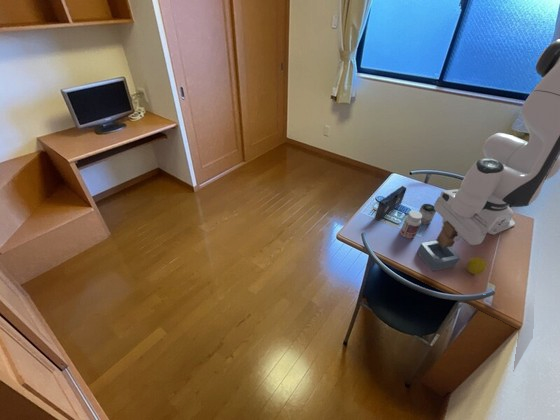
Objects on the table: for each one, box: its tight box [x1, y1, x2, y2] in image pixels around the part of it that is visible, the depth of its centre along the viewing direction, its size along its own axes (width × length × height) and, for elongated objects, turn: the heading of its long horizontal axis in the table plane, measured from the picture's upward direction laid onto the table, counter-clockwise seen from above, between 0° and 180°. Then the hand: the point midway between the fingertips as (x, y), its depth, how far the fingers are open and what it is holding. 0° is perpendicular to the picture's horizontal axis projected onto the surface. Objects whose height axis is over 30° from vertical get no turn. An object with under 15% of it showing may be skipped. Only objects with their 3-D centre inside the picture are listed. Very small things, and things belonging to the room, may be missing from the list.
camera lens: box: [419, 203, 437, 225], centre depth 127 cm, size 6×6×8 cm
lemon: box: [466, 256, 487, 275], centre depth 105 cm, size 6×6×8 cm
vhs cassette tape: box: [374, 185, 407, 221], centre depth 131 cm, size 18×3×10 cm, turn 129°
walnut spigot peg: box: [435, 221, 458, 248], centre depth 103 cm, size 4×4×10 cm
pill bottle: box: [400, 209, 422, 239], centre depth 119 cm, size 6×6×11 cm
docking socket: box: [416, 239, 461, 272], centre depth 111 cm, size 10×10×5 cm
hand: (449, 234), depth 103 cm, fingers closed on walnut spigot peg, 4 cm apart
